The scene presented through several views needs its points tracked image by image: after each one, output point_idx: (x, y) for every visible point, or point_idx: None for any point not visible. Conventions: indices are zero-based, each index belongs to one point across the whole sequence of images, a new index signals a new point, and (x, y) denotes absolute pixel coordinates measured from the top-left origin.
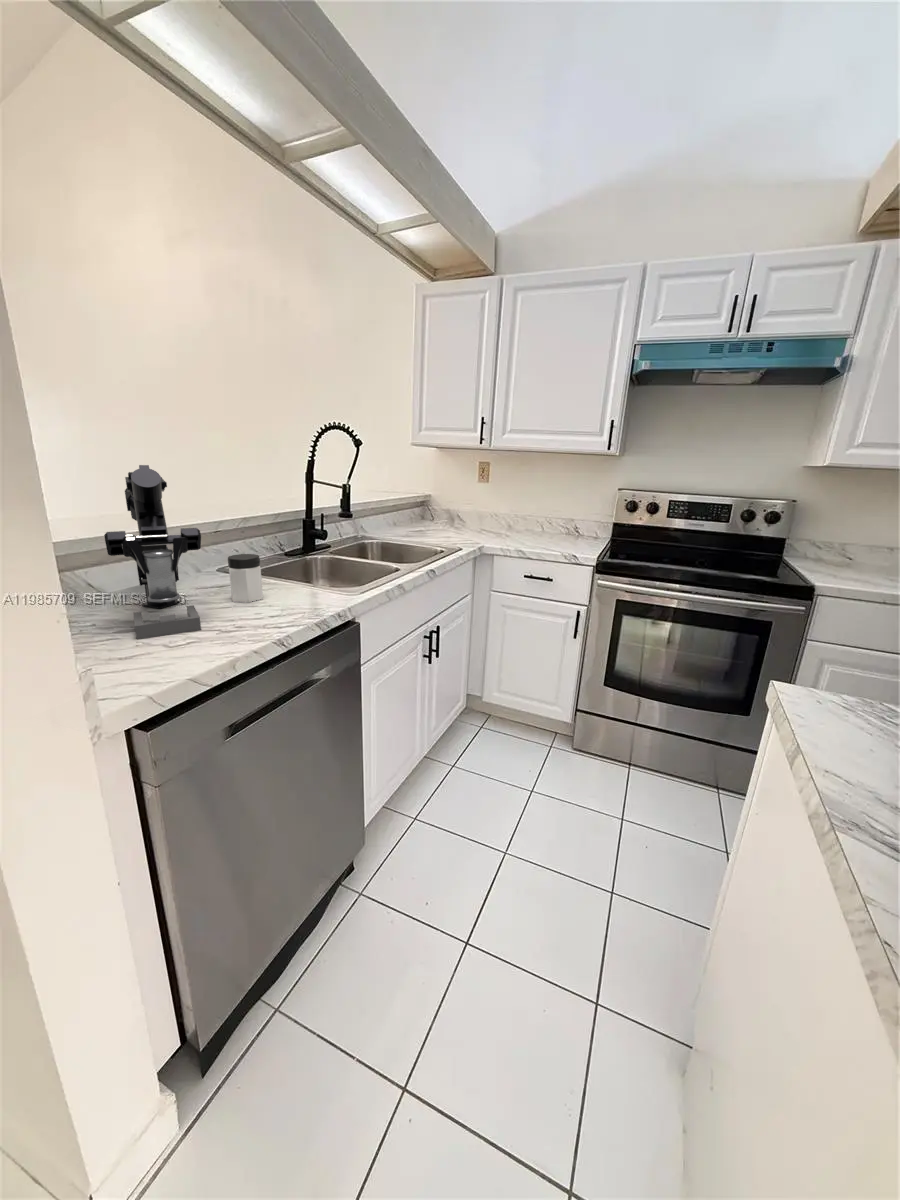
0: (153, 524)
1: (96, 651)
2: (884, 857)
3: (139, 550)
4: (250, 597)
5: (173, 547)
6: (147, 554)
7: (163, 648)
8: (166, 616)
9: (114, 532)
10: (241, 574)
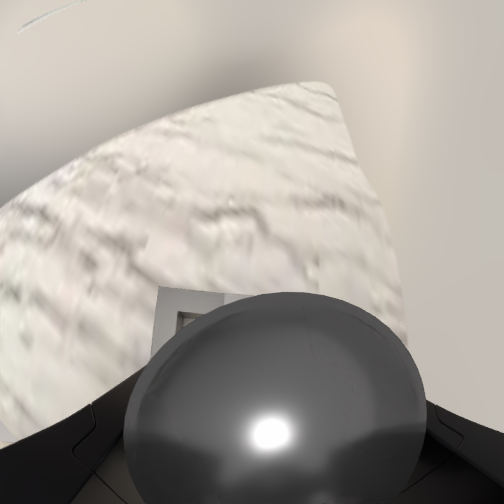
0: None
1: (383, 270)
2: None
3: (449, 436)
4: None
5: (95, 461)
6: (392, 339)
7: (269, 213)
8: (249, 295)
9: None
10: None
